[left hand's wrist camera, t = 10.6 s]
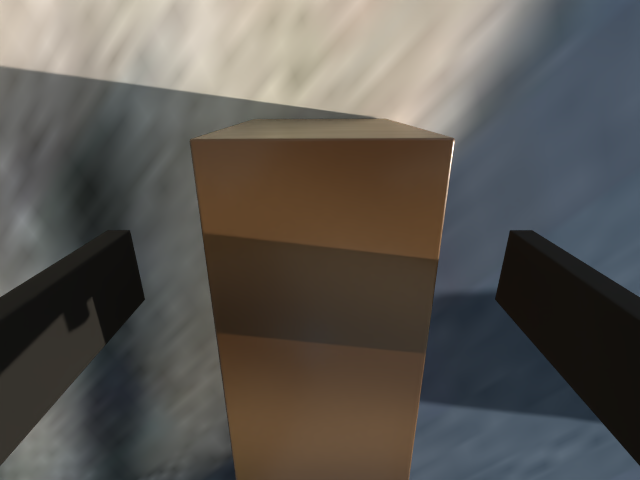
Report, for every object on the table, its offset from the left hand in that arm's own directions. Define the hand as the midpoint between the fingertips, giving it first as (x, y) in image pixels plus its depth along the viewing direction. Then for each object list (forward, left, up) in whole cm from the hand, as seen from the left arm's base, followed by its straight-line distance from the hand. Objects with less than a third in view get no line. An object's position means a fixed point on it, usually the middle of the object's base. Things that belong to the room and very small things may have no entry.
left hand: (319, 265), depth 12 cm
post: (+21, +23, -4) cm, 32 cm away
